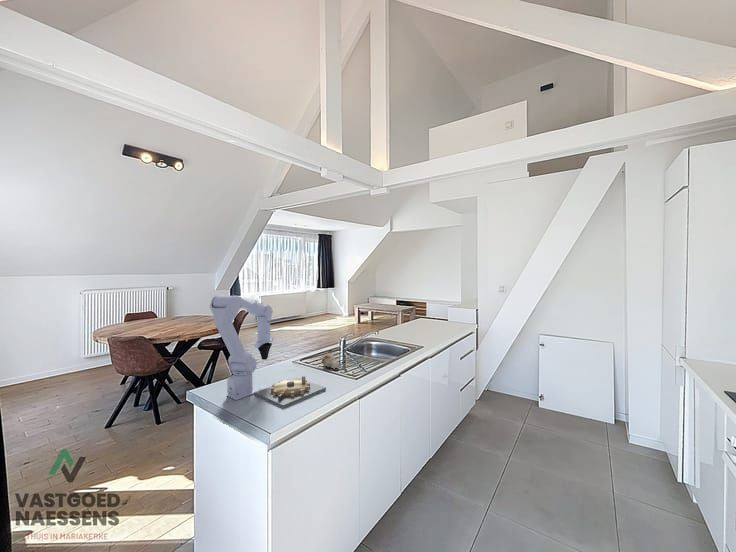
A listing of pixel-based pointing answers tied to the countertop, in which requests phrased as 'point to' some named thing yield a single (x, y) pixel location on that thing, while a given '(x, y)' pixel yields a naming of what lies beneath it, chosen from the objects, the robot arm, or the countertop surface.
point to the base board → (288, 400)
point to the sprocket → (290, 387)
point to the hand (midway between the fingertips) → (264, 359)
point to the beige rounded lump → (330, 361)
